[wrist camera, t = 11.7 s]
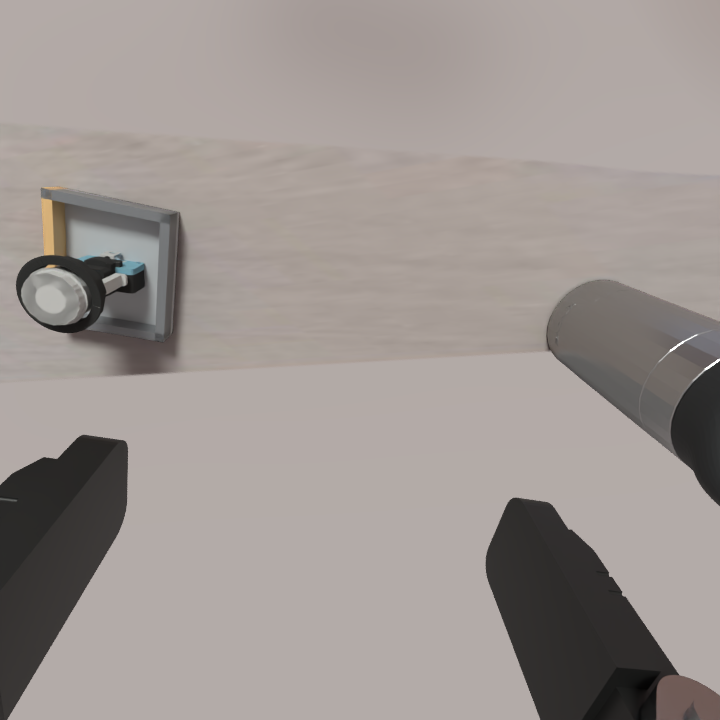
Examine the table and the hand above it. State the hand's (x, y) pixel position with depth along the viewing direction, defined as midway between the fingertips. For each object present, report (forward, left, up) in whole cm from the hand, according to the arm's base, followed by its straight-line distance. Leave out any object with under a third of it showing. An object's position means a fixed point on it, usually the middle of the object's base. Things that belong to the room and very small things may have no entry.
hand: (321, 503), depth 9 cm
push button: (+18, +5, -32) cm, 37 cm away
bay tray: (+17, +5, -33) cm, 37 cm away
